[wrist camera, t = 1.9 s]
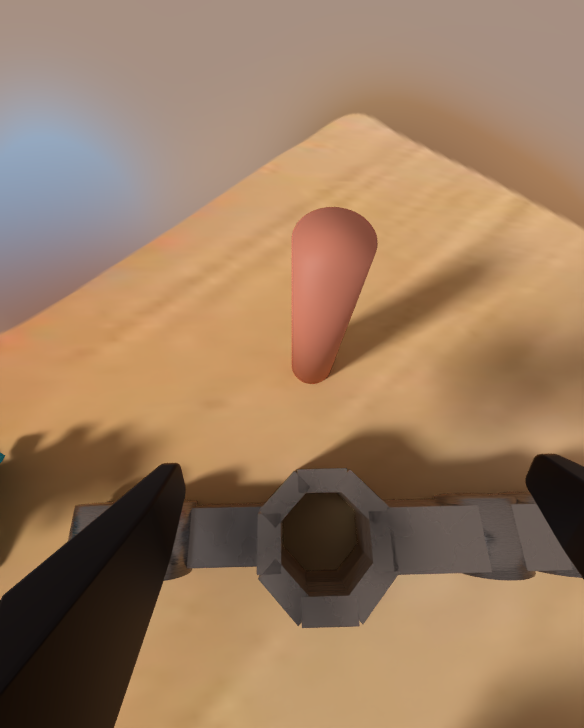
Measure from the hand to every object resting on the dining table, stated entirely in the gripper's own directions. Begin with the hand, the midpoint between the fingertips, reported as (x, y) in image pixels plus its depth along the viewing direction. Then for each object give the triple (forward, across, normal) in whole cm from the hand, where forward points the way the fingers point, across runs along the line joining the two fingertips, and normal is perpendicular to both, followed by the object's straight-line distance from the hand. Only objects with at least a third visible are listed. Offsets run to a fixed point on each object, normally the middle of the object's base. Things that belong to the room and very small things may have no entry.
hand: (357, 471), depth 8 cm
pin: (+15, 0, +4) cm, 15 cm away
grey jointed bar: (+7, 0, +12) cm, 14 cm away
